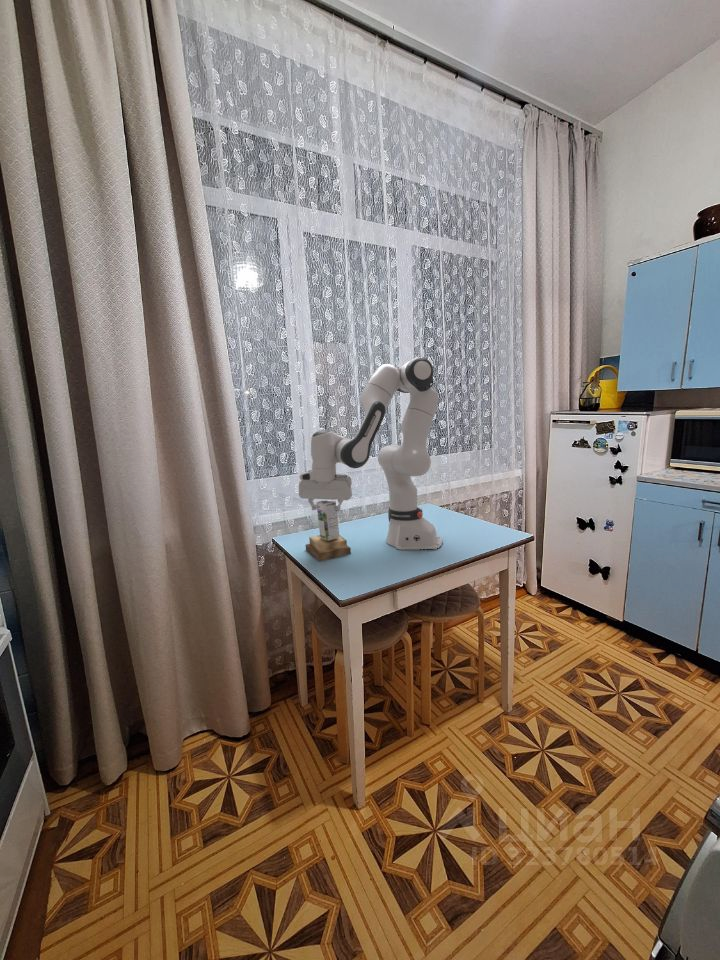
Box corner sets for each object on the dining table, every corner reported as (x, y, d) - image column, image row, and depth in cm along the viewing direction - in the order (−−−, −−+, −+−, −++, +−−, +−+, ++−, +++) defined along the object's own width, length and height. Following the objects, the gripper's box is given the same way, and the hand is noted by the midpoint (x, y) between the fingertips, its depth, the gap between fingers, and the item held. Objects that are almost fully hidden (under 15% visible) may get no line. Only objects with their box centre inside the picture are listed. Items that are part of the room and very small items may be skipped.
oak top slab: (335, 538, 158) (335, 531, 158) (347, 547, 149) (346, 540, 148) (309, 544, 154) (309, 536, 153) (319, 553, 144) (319, 545, 143)
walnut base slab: (335, 544, 160) (335, 537, 160) (350, 555, 149) (350, 547, 149) (305, 551, 154) (305, 544, 153) (319, 563, 143) (319, 555, 142)
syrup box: (319, 538, 151) (315, 501, 148) (332, 534, 154) (328, 498, 152) (327, 541, 146) (322, 503, 144) (340, 537, 149) (336, 500, 147)
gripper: (353, 473, 146) (354, 509, 148) (302, 472, 151) (304, 506, 154) (348, 476, 140) (350, 513, 142) (295, 475, 145) (298, 511, 148)
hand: (326, 510), depth 148 cm, fingers open, 8 cm apart
